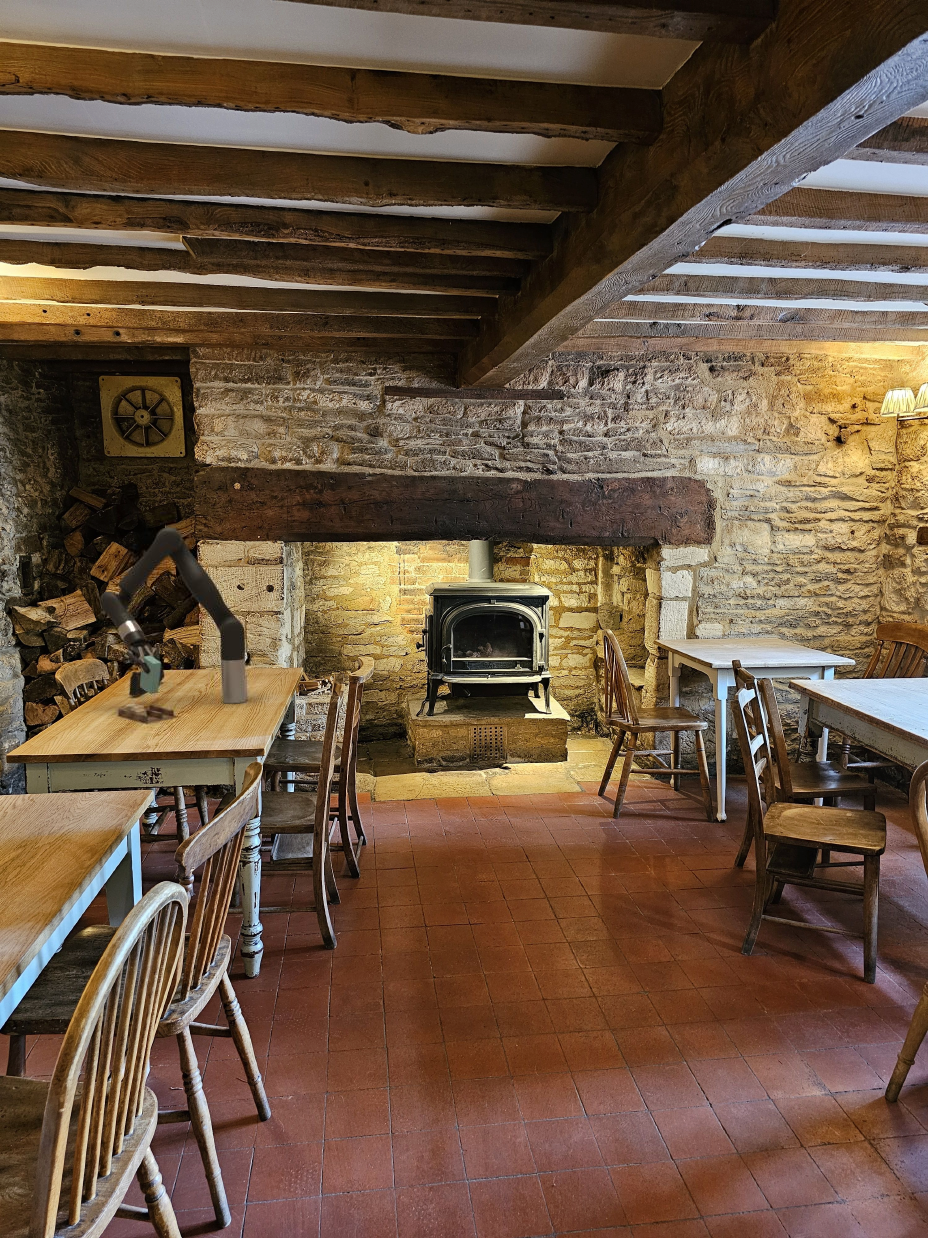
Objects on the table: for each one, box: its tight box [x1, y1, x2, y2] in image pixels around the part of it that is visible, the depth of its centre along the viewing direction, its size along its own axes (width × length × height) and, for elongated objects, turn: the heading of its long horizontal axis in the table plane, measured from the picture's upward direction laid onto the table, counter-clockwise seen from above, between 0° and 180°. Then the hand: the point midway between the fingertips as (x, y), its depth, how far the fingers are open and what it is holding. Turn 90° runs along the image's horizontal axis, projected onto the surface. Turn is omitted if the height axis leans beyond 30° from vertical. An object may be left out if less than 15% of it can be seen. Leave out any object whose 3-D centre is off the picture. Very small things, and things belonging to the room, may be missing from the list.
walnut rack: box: [116, 704, 181, 725], centre depth 294 cm, size 20×13×4 cm, turn 53°
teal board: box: [140, 656, 162, 695], centre depth 296 cm, size 7×3×12 cm, turn 54°
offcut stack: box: [125, 703, 147, 716], centre depth 293 cm, size 8×4×4 cm, turn 53°
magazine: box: [129, 659, 165, 697], centre depth 342 cm, size 17×3×30 cm
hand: (153, 671), depth 295 cm, fingers closed on teal board, 2 cm apart
